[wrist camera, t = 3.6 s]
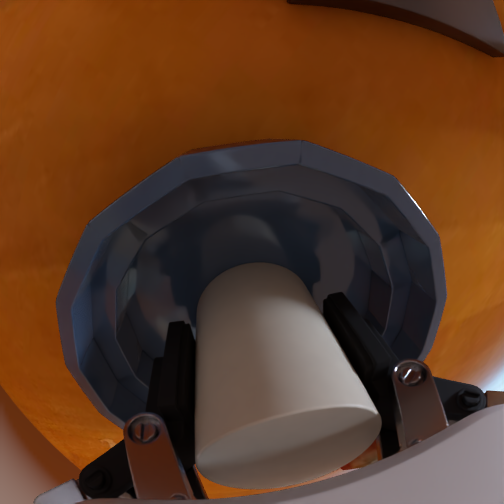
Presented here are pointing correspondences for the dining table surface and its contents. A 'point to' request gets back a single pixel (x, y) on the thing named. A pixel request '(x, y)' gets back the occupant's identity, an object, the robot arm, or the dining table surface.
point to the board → (436, 18)
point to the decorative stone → (363, 458)
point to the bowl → (242, 256)
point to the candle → (273, 384)
